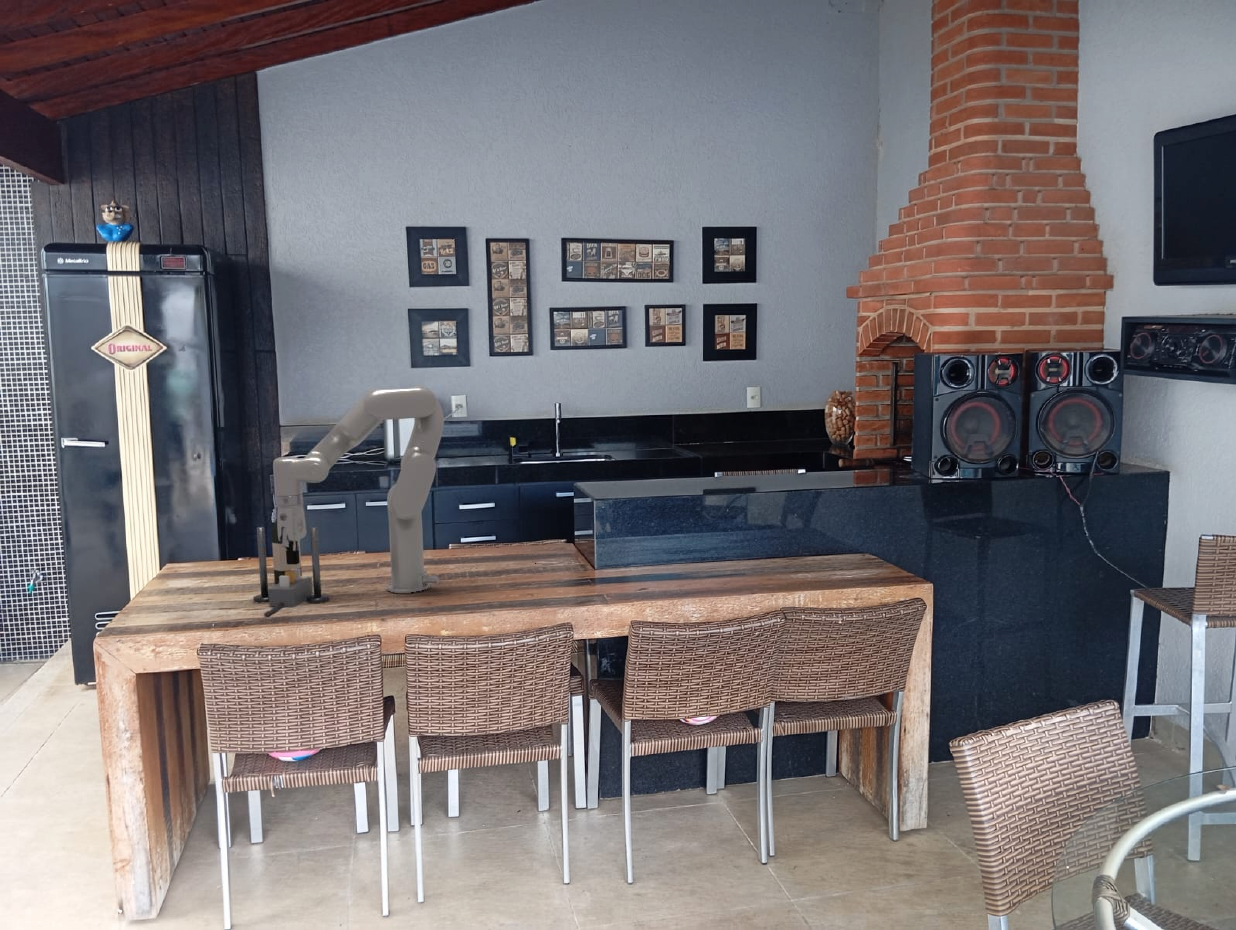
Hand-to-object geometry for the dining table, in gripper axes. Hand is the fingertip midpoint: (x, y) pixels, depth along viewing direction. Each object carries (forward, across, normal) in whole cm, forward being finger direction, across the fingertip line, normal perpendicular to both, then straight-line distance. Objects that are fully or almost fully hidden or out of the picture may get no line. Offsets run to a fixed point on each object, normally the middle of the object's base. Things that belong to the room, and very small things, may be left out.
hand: (293, 563), depth 308 cm
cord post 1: (+10, -2, +8) cm, 13 cm away
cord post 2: (+10, -3, -8) cm, 13 cm away
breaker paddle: (+5, -3, 0) cm, 5 cm away
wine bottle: (+10, +20, +10) cm, 24 cm away
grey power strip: (+10, -8, 0) cm, 12 cm away
